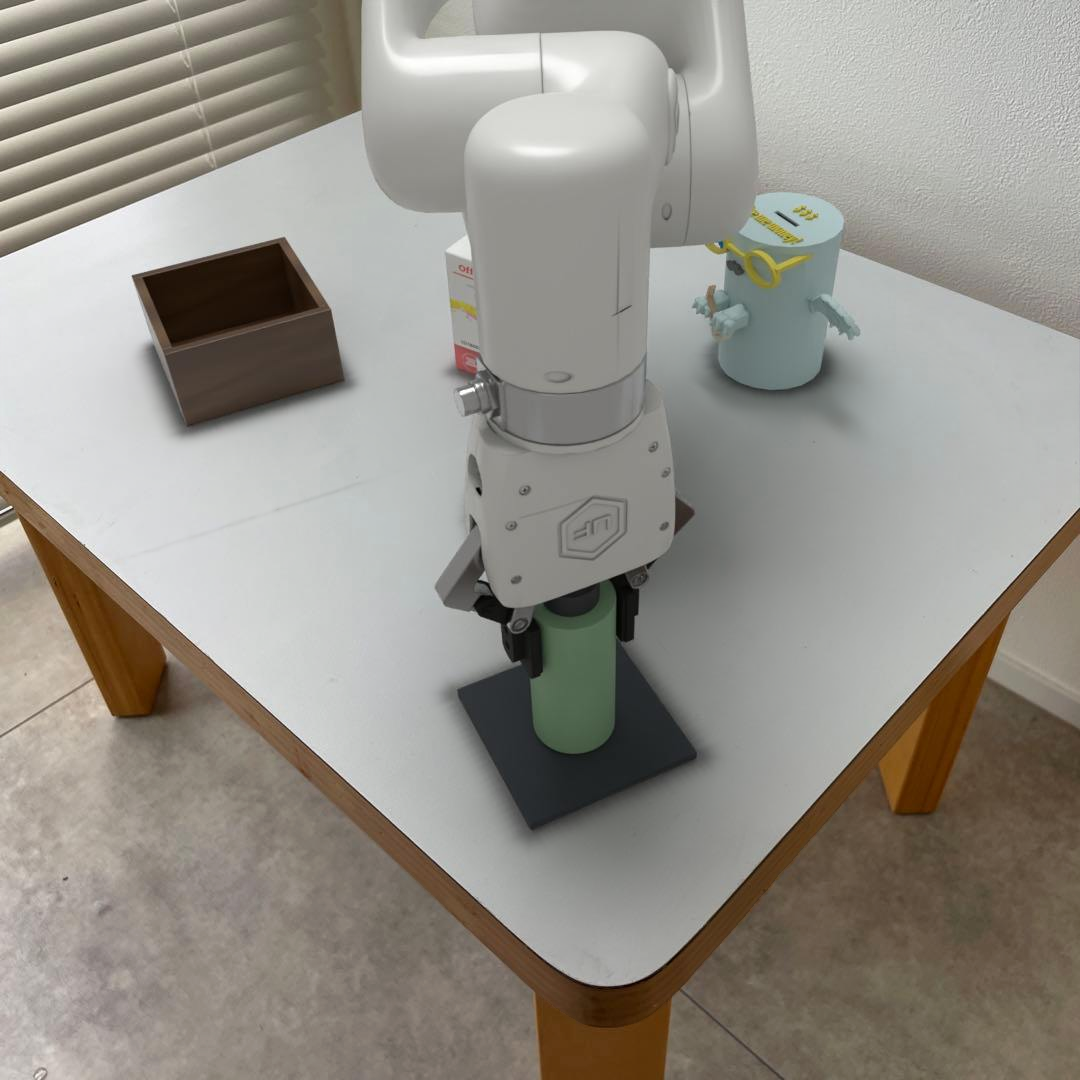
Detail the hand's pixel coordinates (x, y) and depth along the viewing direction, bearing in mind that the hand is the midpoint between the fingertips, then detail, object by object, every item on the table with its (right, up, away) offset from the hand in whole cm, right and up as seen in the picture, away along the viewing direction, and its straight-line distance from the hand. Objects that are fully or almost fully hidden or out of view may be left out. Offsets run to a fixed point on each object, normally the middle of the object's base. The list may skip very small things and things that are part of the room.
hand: (571, 640), depth 64 cm
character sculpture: (+17, +21, +33) cm, 42 cm away
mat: (0, -6, +6) cm, 8 cm away
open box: (-27, +21, +35) cm, 49 cm away
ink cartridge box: (-4, +20, +33) cm, 39 cm away
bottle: (0, -5, +5) cm, 7 cm away
